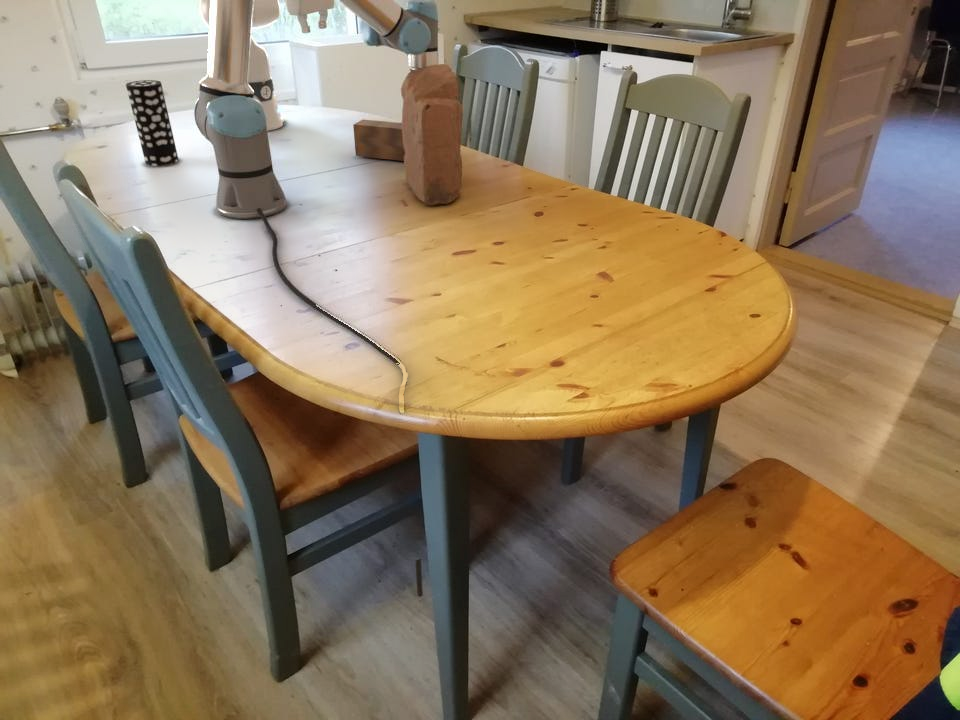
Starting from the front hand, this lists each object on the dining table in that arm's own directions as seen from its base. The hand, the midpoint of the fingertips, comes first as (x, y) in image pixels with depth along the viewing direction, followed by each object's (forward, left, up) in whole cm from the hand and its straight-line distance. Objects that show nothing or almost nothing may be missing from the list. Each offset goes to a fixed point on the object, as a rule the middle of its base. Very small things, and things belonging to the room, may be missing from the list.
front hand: (425, 157), depth 189 cm
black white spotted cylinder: (+32, +64, +9) cm, 72 cm away
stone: (-23, +9, -1) cm, 25 cm away
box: (+5, +5, -1) cm, 8 cm away
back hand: (+29, +19, +29) cm, 45 cm away
